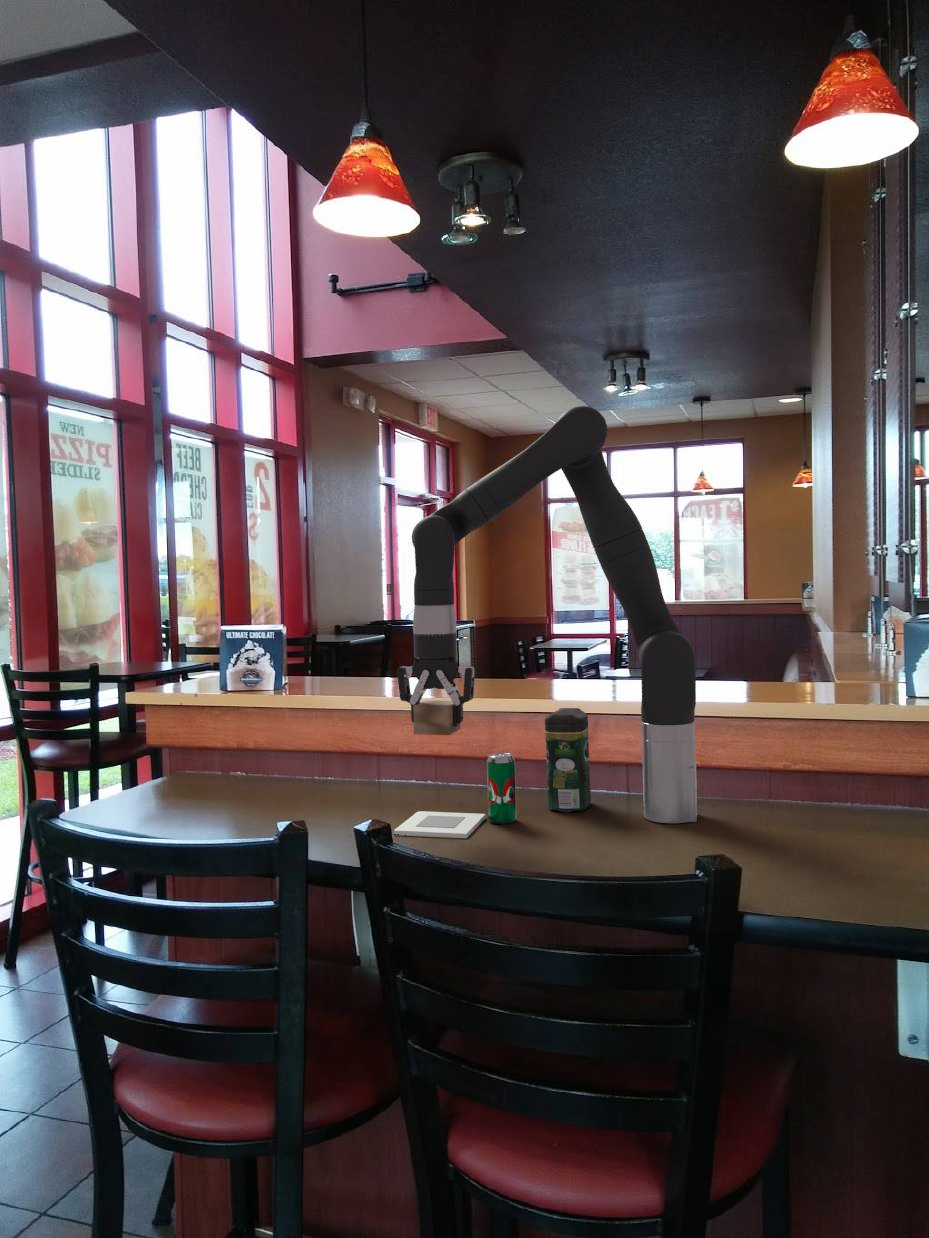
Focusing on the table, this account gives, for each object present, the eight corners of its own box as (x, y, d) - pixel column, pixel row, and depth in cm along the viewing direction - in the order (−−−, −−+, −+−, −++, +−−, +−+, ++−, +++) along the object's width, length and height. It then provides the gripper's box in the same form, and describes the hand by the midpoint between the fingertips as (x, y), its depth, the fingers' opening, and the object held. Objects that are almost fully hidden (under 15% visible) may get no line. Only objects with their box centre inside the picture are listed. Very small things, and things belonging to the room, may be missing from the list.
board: (485, 818, 167) (485, 813, 167) (466, 838, 155) (466, 833, 155) (418, 815, 171) (417, 810, 171) (393, 834, 158) (393, 829, 158)
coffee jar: (553, 799, 179) (550, 705, 179) (594, 801, 177) (591, 705, 176) (542, 812, 170) (539, 712, 169) (585, 814, 168) (582, 713, 167)
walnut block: (460, 729, 164) (459, 701, 163) (449, 735, 158) (448, 706, 157) (426, 728, 166) (425, 700, 165) (414, 734, 159) (413, 705, 159)
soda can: (517, 817, 167) (515, 752, 166) (516, 824, 162) (514, 757, 161) (489, 817, 167) (487, 752, 167) (487, 825, 162) (485, 757, 162)
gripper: (480, 629, 162) (482, 723, 163) (403, 629, 166) (405, 721, 167) (469, 632, 155) (471, 730, 156) (388, 632, 159) (391, 728, 160)
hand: (437, 725), depth 162 cm, fingers closed on walnut block, 6 cm apart
